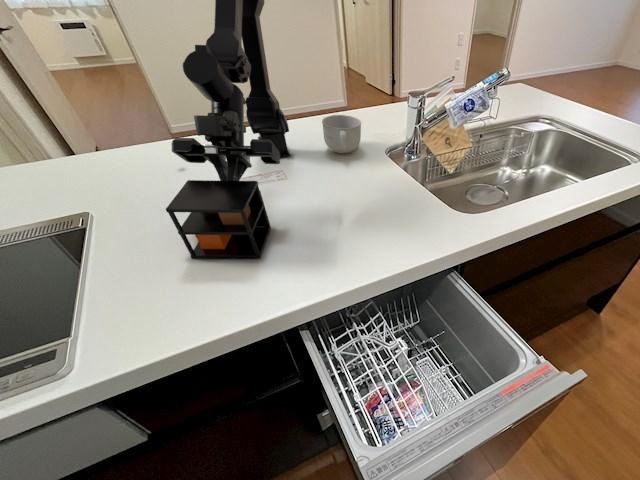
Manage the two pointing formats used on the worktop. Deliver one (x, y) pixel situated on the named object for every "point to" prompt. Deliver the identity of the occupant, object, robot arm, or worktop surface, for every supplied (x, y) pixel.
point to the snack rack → (222, 219)
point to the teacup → (342, 133)
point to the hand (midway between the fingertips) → (228, 194)
